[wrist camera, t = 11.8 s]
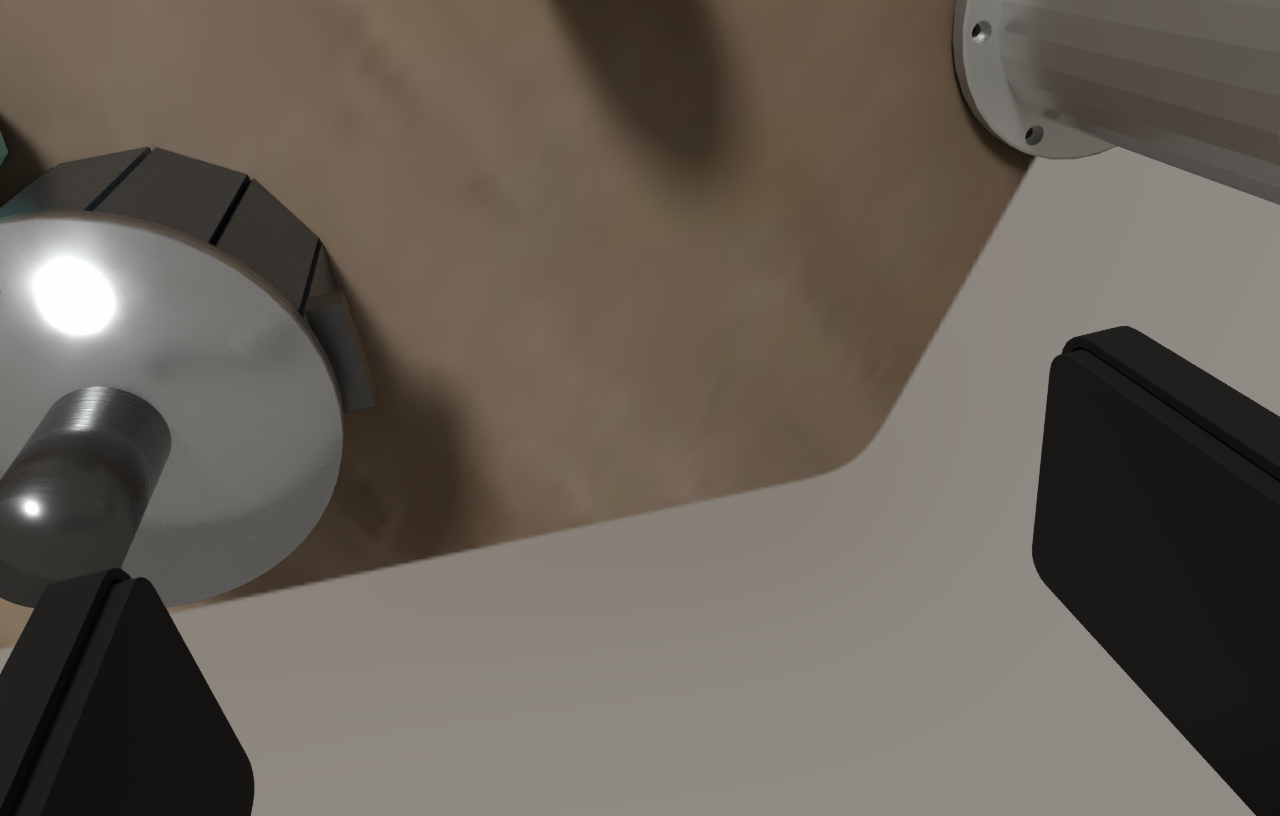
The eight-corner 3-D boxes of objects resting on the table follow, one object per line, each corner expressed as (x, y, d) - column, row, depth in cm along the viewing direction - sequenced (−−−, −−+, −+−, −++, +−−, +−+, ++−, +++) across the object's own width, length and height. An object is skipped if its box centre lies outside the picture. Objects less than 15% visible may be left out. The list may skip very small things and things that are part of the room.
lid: (260, 166, 27) (217, 244, 21) (393, 536, 34) (389, 674, 28) (-254, 267, 25) (-458, 383, 19) (-2, 633, 33) (-94, 800, 27)
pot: (318, 114, 35) (292, 177, 27) (410, 405, 42) (409, 521, 34) (-123, 198, 33) (-283, 291, 26) (46, 487, 40) (-40, 630, 32)
